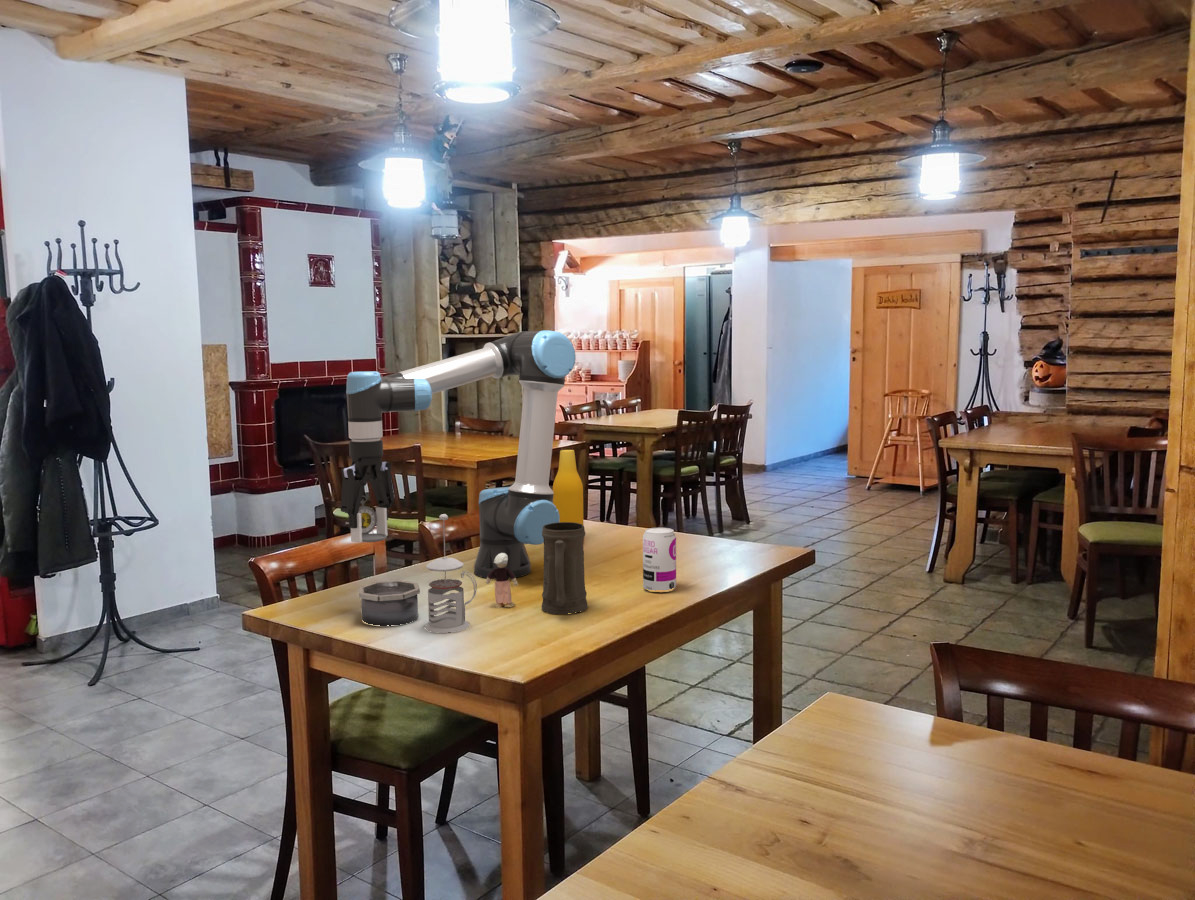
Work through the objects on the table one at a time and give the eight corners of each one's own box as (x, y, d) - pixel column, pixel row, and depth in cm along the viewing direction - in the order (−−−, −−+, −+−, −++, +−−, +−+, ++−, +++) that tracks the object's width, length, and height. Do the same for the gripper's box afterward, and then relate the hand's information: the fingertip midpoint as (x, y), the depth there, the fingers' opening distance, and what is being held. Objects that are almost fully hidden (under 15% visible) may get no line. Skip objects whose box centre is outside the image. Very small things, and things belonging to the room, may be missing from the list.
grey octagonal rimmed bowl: (417, 608, 224) (416, 578, 223) (422, 624, 211) (421, 593, 210) (359, 613, 220) (357, 583, 219) (361, 629, 207) (360, 598, 206)
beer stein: (540, 601, 227) (539, 520, 224) (585, 600, 228) (584, 519, 225) (542, 625, 212) (541, 538, 209) (590, 623, 213) (589, 537, 210)
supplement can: (679, 586, 240) (679, 528, 238) (671, 595, 232) (671, 534, 230) (648, 584, 243) (648, 526, 241) (639, 592, 235) (638, 532, 233)
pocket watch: (378, 544, 214) (376, 500, 213) (344, 542, 216) (342, 499, 215) (394, 536, 222) (392, 494, 221) (361, 535, 224) (359, 493, 223)
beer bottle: (583, 549, 284) (582, 452, 280) (552, 549, 284) (550, 452, 280) (584, 542, 293) (583, 448, 289) (554, 542, 293) (552, 449, 290)
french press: (430, 619, 215) (427, 509, 212) (481, 620, 213) (478, 510, 211) (418, 632, 205) (414, 518, 202) (471, 633, 204) (468, 518, 201)
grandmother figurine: (519, 603, 226) (518, 551, 225) (518, 608, 223) (517, 554, 221) (486, 604, 226) (485, 551, 225) (485, 608, 222) (483, 555, 221)
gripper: (384, 434, 227) (388, 529, 230) (320, 443, 210) (324, 545, 213) (408, 436, 223) (412, 532, 226) (344, 444, 206) (348, 548, 209)
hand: (369, 538), depth 219 cm, fingers closed on pocket watch, 7 cm apart
